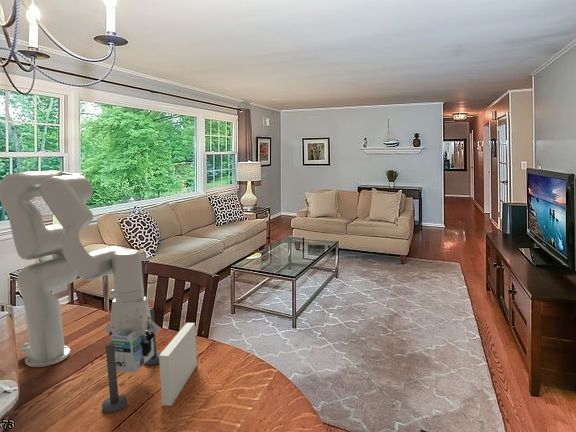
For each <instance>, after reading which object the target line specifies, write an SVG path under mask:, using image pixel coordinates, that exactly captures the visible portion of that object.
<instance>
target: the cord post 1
mask: <svg viewBox="0 0 576 432" xmlns="http://www.w3.org/2000/svg"><path fill="white" fill-rule="evenodd" d="M105 356H106V367H107V369H106V370H107V376H108V377H107V379H108V388H109V389H108V390H109V397H107V398H106V399H105V400H104V401H102V403H101V409H102V412H103V413H105V414H115V413H119V412H121V411H123V410H124V409H125V408H126V407H127V405H128V397H127V396H125V395H123V394H119V386H118V376H117V375H118V374H117V371H116V362H115V349H114V343H112V342H108V343H106V344H105Z"/></svg>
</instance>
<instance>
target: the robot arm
mask: <svg viewBox="0 0 576 432" xmlns="http://www.w3.org/2000/svg"><path fill="white" fill-rule="evenodd" d="M93 193H94V189H93V185H92V184H91V182H90V181H89V179H87V178H86V177H85V176H84V175H82V174H75V173H71V172H66V171H60V170H42V171H39V170H38V171H20V172H14V173H10V174H8V175H5V176H4V177H3V178H1V180H0V203H1V206H2V207H3V209H4V211H5V212H6V215H7V217H8V220H9V225H10V230H11V234H12V237H13V243H14V246H15V249H16V253H17V255H18V257H20V258H21V259H22V260H26V261H29V260H36V259H40V258H44V257H47V256H51V259H48V260H46V259H45V260H43V261H39V262H35V263H32V264H28V265H27V266H25V267H23V268H22V269H21V270H20V271H19V272H18V274H17V277H16V280H17V281H16V282H17V284H18V288H19V291H20V293H21V294H20V295H21V298H22V300H23V306H24V307H23V308H24V314H25V322H26V329H27V337H28V343H27V342H24V343H23V344H22V345H21V348H20V350H19V352H20V353H26V355H27V356H26V357H25V359H24V363H25V365H26V366H27V365H28V366H27V367H31V368H44V367H49V366H52V365H55V364H56V365H57V364H58V363H60V362H63V361H64V360H65V359H67V358H68V357H69V356H70V355H71V348H70V347H69V346H67V345H65V339H64V329H63V319H62V311H61V303H60V301H59V299H58V297H56V296H55V295H54V294H53V293H52V291H53V290H55V289H57V288H61V287H63V286H66V285H70V284H71V283H74V282H75V280H76V279H77V278H78V277H79V278H80V279H82V280H84V281H95V280H98V279H100V278H103V277H107V276H109V275H113V277H112V278H113V287H114V289H111V291H110V295H113V296H114V299H112V303H111V309H110V322H109V323H107V325H105V326H104V330H105V331H106V332H107V333H108V334H109V337H111V334H113V333H114V332H115V331H124V332H137V334H138V336H141V337H142V339H143V341H144V343H143V356H147V355H148V354H149V353H150V352H151V339H152V338H153V337H154V336H155V337H156V335H157V334H158V333H159V331H160V330H161V326H159V325H158V324H157V323H156V322H155V321H154V322H153V321H152V320H151V315H150V309H149V308H150V306H149V302H148V299H147V297H146V296H145V289H144V278H143V264H142V254H141V252H140V251H139V250H136V249H125V248H123V247H120V246H116V245H115V246H109V247H105V248H100V249H97V250H93V251H89V252H88V251H87V249H85V247H84V245H83V244H82V242H81V240H80V232H82V231H83V230H85V229H86V228H87V227H88V226H89V225H90V224H91V223H92V221H93V219H94V214H93V212H92V211H91V209H90V208H89V207H88V206H87V204H86V203H85V202H87V201H89V200H90V199H91V198H92V196H93ZM32 200H34V201H35V200H43V202H45V204H46V205H47V207H48V208H49V210H50V211H51V213H52V214H53V216H54V217H55V218H56V219H57V221H58V223H59V224H49V225H45V224H44V221H43V217H42V216H43V215H42V212H41V211H40V210H39V209H38V208H37V206H36V205H35V204H33V202H31V201H32ZM149 329H152V330H153V332H152V333H150V332H149Z"/></svg>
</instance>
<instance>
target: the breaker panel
mask: <svg viewBox="0 0 576 432" xmlns="http://www.w3.org/2000/svg"><path fill="white" fill-rule="evenodd" d="M196 341H197V340H196V323H195V322H186V323H185V324H184V325H183V327H182V328H181V329H180V330H179V331H178V332H177V334H175V336H174V337H173V339H172V340H170V342H169V343H168V345H166V347H165V348H164V349H163V350H162V351H161V352H160V353H161V354H160V355H159V374H160V375H159V376H160V377H159V379H160V392H161V393H160V394H161V405H162V406H168V407H169V406H170V407H171V406H172V405H173V404H174V402H175V401H176V399H177V397H178V396H179V395H180V393H181V392H182V389H183V388H184V387H185V385H186V383H187V382H188V380H189V378H190V377H191V375H193V372H194V370H195V369H196V367H197V366H198V363H197V362H198V361H197V359H198V358H197V342H196Z"/></svg>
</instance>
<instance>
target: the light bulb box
mask: <svg viewBox="0 0 576 432" xmlns="http://www.w3.org/2000/svg"><path fill="white" fill-rule="evenodd" d="M149 332H150V333H152V332H153V330H152V329H149ZM110 337H111V343H114V349H115V362H116V372H117V371H119V372H127V373H136V372H138V370H139V369H140V368H141V367H142V366H145V363H146V362H147V361H148V360H149V359H150V358H151V357H152V356H153V355H154V344H153V338H152V339H151V352H150V353H149V354H148V355H147V356H143V343H144V341H143V339H142V337H141V336H138V334H137V332H124V331H115V332H114V333H113V334H111V336H110Z"/></svg>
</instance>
